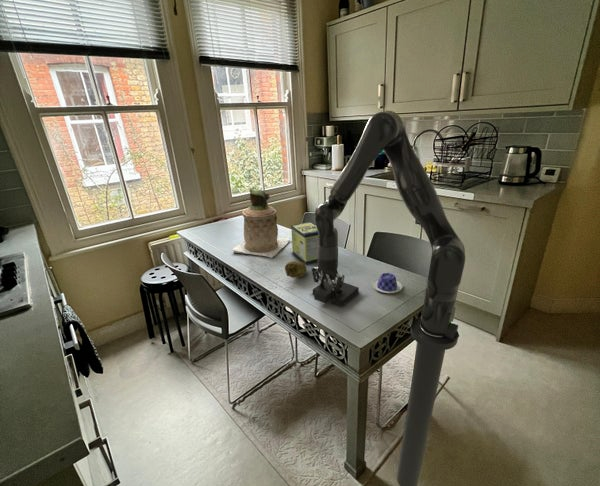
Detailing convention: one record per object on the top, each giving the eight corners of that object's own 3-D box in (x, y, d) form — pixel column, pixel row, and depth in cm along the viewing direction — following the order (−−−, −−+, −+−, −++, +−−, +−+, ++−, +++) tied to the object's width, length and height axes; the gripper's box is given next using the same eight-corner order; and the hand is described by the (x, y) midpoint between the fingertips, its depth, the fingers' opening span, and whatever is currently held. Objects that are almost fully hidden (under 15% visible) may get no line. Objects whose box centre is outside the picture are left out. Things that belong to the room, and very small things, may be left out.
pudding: (391, 298, 123) (392, 286, 121) (366, 287, 131) (367, 275, 129) (407, 286, 130) (409, 275, 128) (382, 277, 138) (383, 266, 136)
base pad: (358, 292, 127) (358, 287, 126) (342, 306, 119) (342, 300, 118) (329, 282, 135) (329, 277, 134) (312, 294, 127) (312, 289, 126)
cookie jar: (274, 258, 159) (269, 196, 145) (231, 253, 166) (222, 193, 152) (290, 240, 180) (288, 184, 166) (251, 237, 187) (246, 182, 174)
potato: (314, 274, 142) (313, 258, 139) (292, 284, 135) (291, 267, 131) (301, 268, 148) (301, 252, 145) (280, 277, 140) (279, 261, 137)
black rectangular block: (340, 292, 124) (340, 285, 123) (325, 303, 118) (325, 296, 116) (329, 288, 127) (329, 282, 126) (314, 299, 120) (314, 292, 119)
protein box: (309, 249, 168) (309, 221, 162) (324, 260, 155) (324, 230, 149) (292, 253, 164) (290, 225, 158) (305, 264, 151) (304, 234, 145)
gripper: (350, 256, 113) (348, 296, 121) (318, 247, 122) (318, 285, 129) (338, 264, 108) (337, 305, 115) (306, 253, 117) (307, 293, 124)
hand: (327, 294), depth 122 cm, fingers closed on black rectangular block, 5 cm apart
